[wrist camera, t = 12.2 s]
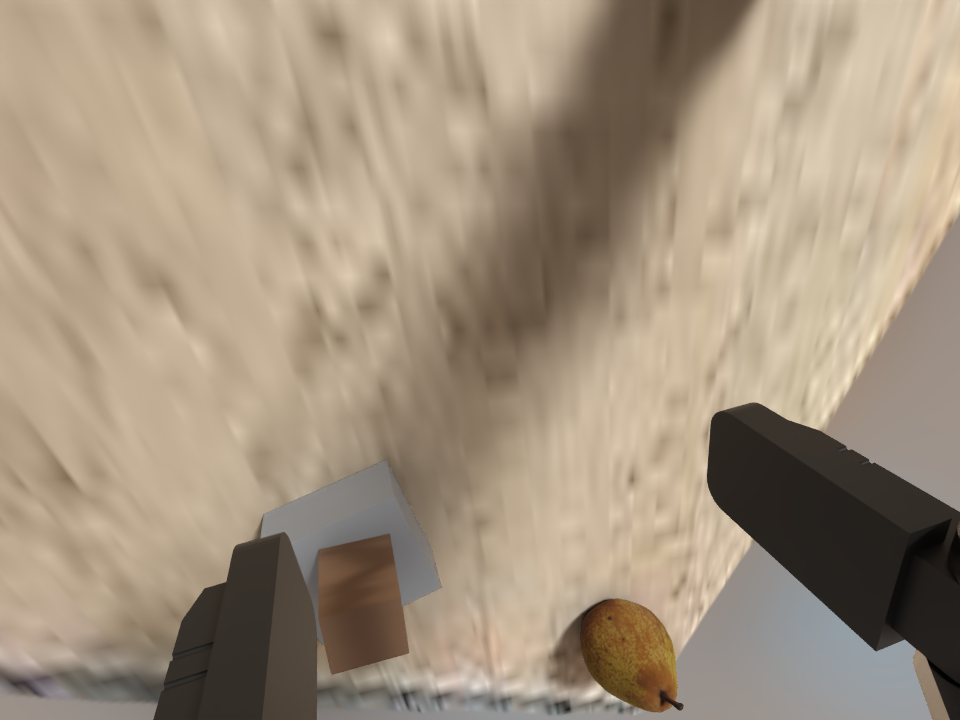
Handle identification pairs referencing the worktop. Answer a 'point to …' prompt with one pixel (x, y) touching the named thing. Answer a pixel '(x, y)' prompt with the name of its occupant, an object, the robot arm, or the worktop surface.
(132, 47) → the worktop surface
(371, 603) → the walnut block
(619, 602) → the fruit
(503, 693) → the worktop surface
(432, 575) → the base block
